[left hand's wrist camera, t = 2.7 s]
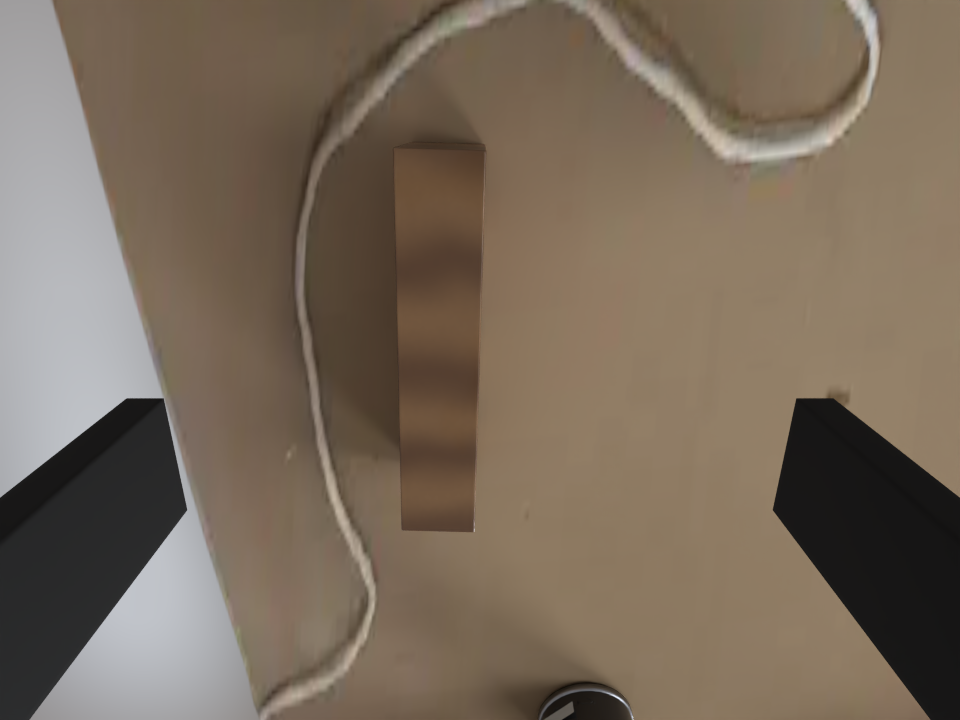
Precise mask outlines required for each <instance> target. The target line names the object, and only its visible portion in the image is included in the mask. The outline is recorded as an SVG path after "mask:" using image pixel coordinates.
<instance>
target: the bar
mask: <svg viewBox="0 0 960 720" xmlns="http://www.w3.org/2000/svg"><path fill="white" fill-rule="evenodd" d="M393 164H394V209H395V253H396V298H397V342H398V387H399V431H400V476H401V520H402V530H408V531H447V532H474V529H475V497H476V464H477V432H478V400H479V367H480V335H481V303H482V271H483V238H484V206H485V174H486V147H485V145H484V144H458V143H426V142H411V143H407V144H404V145H401V146H398V147H394V148H393Z"/></svg>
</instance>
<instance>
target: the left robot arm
mask: <svg viewBox="0 0 960 720" xmlns="http://www.w3.org/2000/svg"><path fill="white" fill-rule="evenodd" d="M186 511H187V507H186V502H185V498H184V493H183V488H182V483H181V479H180V474H179V469H178V464H177V460H176V455H175V450H174V446H173V441H172V436H171V431H170V426H169V422H168V417H167V412H166V408H165V403H164V398H157V399H156V398H154V399H153V398H152V399H151V398H144V399H143V398H139V399H138V398H135V399H133V398H130V399H129V398H127V399H125V400H124V401H123V402H122V403H120V404H119V405H118V406H116V407H115V408H114V409H113V410H111V411H110V412H109V413H108V414H106V415H105V416H104V417H102V418H101V419H100V420H99V421H97V422H96V423H95V424H94V425H92V426H91V427H90V428H89V429H87V430H86V431H85V432H83V433H82V434H81V435H80V436H78V437H77V438H76V439H74V440H73V441H72V442H71V443H69V444H68V445H67V446H66V447H64V448H63V449H62V450H60V451H59V452H58V453H57V454H55V455H54V456H53V457H51V458H50V459H49V460H48V461H46V462H45V463H44V464H43V465H41V466H40V467H39V468H37V469H36V470H35V471H34V472H32V473H31V474H30V475H29V476H27V477H26V478H25V479H23V480H22V481H21V482H20V483H18V484H17V485H16V486H15V487H13V488H12V489H11V490H10V491H8V492H7V493H6V494H4V495H3V496H2V497H1V498H0V720H29V719H30V718H31V717H32V715H33V714H34V713H35V711H36V710H37V709H38V707H39V706H40V705H41V703H42V702H43V701H44V700H45V698H46V697H47V696H48V694H49V693H50V692H51V690H52V689H53V687H54V686H55V685H56V684H57V682H58V681H59V680H60V678H61V677H62V676H63V674H64V673H65V672H66V670H67V669H68V668H69V666H70V665H71V664H72V662H73V661H74V660H75V658H76V657H77V656H78V654H79V653H80V652H81V650H82V649H83V648H84V646H85V645H86V644H87V642H88V641H89V640H90V638H91V637H92V636H93V634H94V633H95V632H96V630H97V629H98V628H99V626H100V625H101V624H102V622H103V621H104V620H105V619H106V617H107V616H108V614H109V613H110V612H111V611H112V609H113V608H114V607H115V605H116V604H117V603H118V601H119V600H120V599H121V597H122V596H123V595H124V593H125V592H126V591H127V589H128V588H129V587H130V585H131V584H132V583H133V581H134V580H135V579H136V577H137V576H138V575H139V573H140V572H141V571H142V569H143V568H144V567H145V565H146V564H147V563H148V561H149V560H150V559H151V557H152V556H153V555H154V553H155V552H156V551H157V549H158V548H159V547H160V545H161V544H162V543H163V541H164V540H165V539H166V538H167V536H168V535H169V534H170V532H171V531H172V530H173V528H174V527H175V526H176V524H177V523H178V522H179V520H180V519H181V517H182V516H183V515H184V514H185V512H186ZM773 511H774V512H775V514H776V515H777V516H778V518H779V519H780V520H781V522H782V523H783V524H784V526H785V527H786V528H787V530H788V531H789V532H790V534H791V535H792V536H793V538H794V539H795V540H796V541H797V543H798V544H799V545H800V547H801V548H802V549H803V551H804V552H805V553H806V555H807V556H808V557H809V559H810V560H811V561H812V563H813V564H814V565H815V567H816V568H817V569H818V571H819V572H820V573H821V575H822V576H823V577H824V579H825V580H826V581H827V583H828V584H829V585H830V587H831V588H832V589H833V591H834V592H835V593H836V595H837V596H838V597H839V599H840V600H841V601H842V603H843V604H844V605H845V607H846V608H847V609H848V611H849V612H850V613H851V615H852V616H853V617H854V619H855V620H856V621H857V623H858V624H859V625H860V626H861V628H862V629H863V630H864V632H865V633H866V634H867V636H868V637H869V638H870V640H871V641H872V642H873V644H874V645H875V646H876V648H877V649H878V650H879V652H880V653H881V654H882V656H883V657H884V658H885V660H886V661H887V662H888V664H889V665H890V666H891V668H892V669H893V670H894V672H895V673H896V674H897V676H898V677H899V678H900V680H901V681H902V682H903V684H904V685H905V686H906V688H907V689H908V690H909V692H910V693H911V694H912V696H913V697H914V698H915V700H916V701H917V702H918V704H919V705H920V706H921V708H922V709H923V710H924V711H925V713H926V714H927V715H928V717H929V718H930V719H931V720H960V498H959V497H958V496H957V495H956V494H954V493H953V492H952V491H951V490H949V489H948V488H947V487H945V486H944V485H943V484H942V483H940V482H939V481H938V480H937V479H935V478H934V477H933V476H931V475H930V474H929V473H928V472H926V471H925V470H924V469H923V468H921V467H920V466H919V465H917V464H916V463H915V462H914V461H912V460H911V459H910V458H909V457H907V456H906V455H905V454H903V453H902V452H901V451H900V450H898V449H897V448H896V447H895V446H893V445H892V444H891V443H889V442H888V441H887V440H886V439H884V438H883V437H882V436H880V435H879V434H878V433H877V432H875V431H874V430H873V429H872V428H870V427H869V426H868V425H866V424H865V423H864V422H863V421H861V420H860V419H859V418H858V417H856V416H855V415H854V414H852V413H851V412H850V411H849V410H847V409H846V408H845V407H844V406H842V405H841V404H840V403H838V402H837V401H836V400H835V399H833V398H796V403H795V408H794V412H793V417H792V422H791V426H790V431H789V436H788V441H787V445H786V450H785V455H784V460H783V464H782V469H781V474H780V478H779V483H778V488H777V493H776V497H775V502H774V507H773Z"/></svg>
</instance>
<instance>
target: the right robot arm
mask: <svg viewBox="0 0 960 720" xmlns="http://www.w3.org/2000/svg"><path fill="white" fill-rule="evenodd" d="M538 720H633V715H632V711H631V708H630V705H629V703H628V701H627V700H626V699H625V697H624V696H623V695H621V694H620V693H619V692H617V691H616V690H614V689H612V688H610V687H607V686H604V685H599V684H591V683H584V684H576V685H571V686H568V687H565V688H562V689H560V690H558V691H556V692H555V693H553V694H552V695H551V696H549V697H548V698H547V699H546V700H545V702H544V703H543V704H542V706H541V708H540V710H539V714H538Z"/></svg>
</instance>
